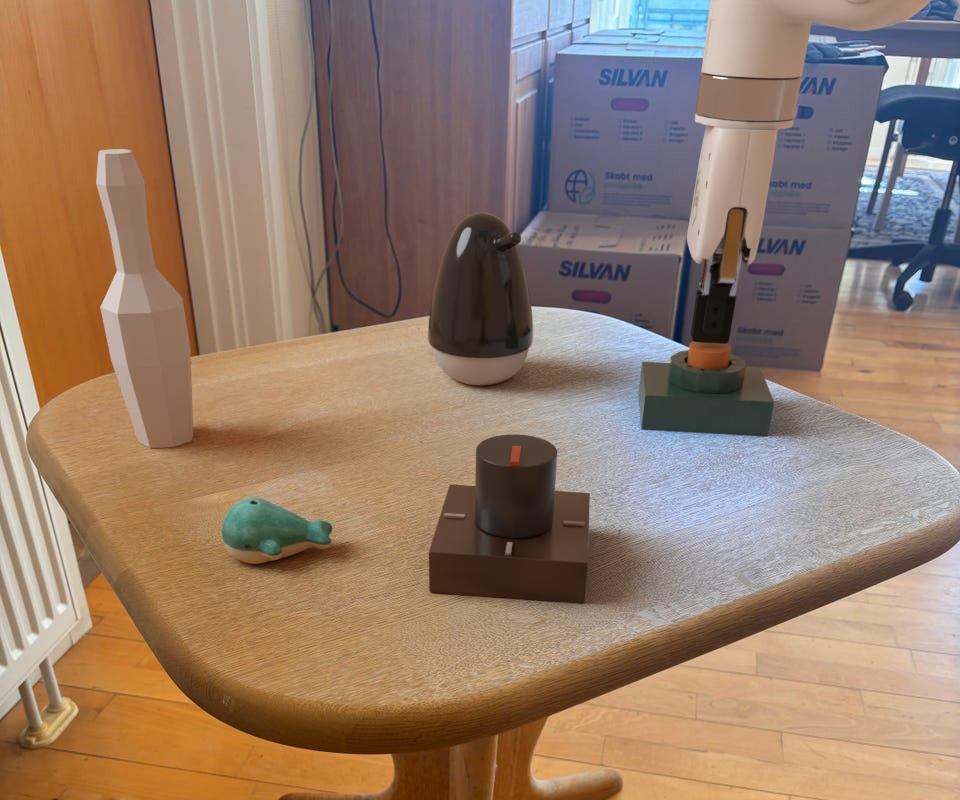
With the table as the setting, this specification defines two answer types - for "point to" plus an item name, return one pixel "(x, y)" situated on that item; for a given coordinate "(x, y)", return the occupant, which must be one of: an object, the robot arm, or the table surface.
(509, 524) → the dial
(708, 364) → the orange push button
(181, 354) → the low poly bottle
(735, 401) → the green button base
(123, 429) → the table surface
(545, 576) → the dial panel
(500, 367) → the pump dispenser
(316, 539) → the whale figurine
